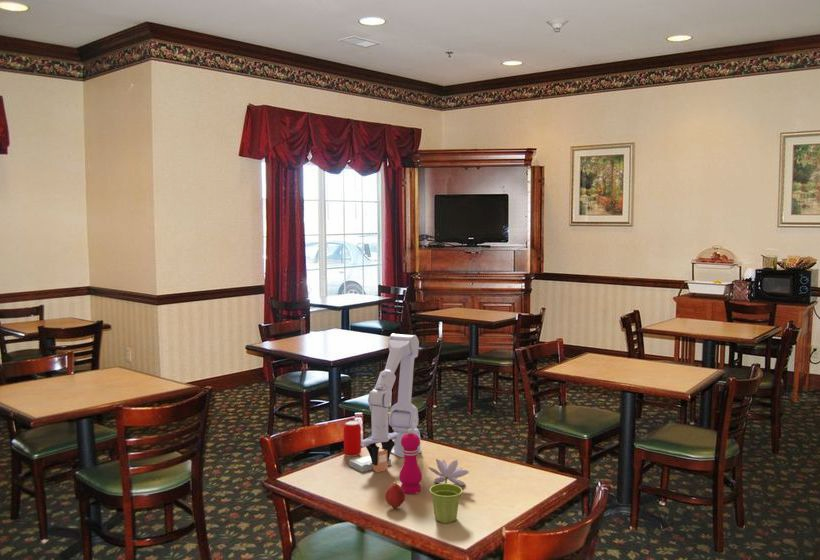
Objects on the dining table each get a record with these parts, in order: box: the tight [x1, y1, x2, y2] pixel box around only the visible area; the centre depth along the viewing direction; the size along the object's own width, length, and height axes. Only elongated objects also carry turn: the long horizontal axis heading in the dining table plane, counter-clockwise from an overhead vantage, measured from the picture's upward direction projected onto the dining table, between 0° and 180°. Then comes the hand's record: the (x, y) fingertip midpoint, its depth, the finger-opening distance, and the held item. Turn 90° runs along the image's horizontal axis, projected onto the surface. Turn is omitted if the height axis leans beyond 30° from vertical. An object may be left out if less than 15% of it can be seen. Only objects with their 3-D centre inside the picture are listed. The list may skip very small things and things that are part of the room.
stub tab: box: [373, 447, 389, 473], centre depth 238 cm, size 4×3×7 cm
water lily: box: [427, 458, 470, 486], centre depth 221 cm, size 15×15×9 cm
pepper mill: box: [398, 429, 423, 495], centre depth 219 cm, size 7×7×20 cm
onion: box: [384, 482, 406, 510], centre depth 206 cm, size 6×6×8 cm
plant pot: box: [429, 483, 463, 524], centre depth 198 cm, size 9×9×9 cm
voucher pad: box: [349, 454, 392, 473], centre depth 243 cm, size 12×8×2 cm, turn 128°
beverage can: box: [343, 420, 362, 458], centre depth 254 cm, size 6×6×12 cm
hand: (380, 463), depth 238 cm, fingers closed on stub tab, 4 cm apart
